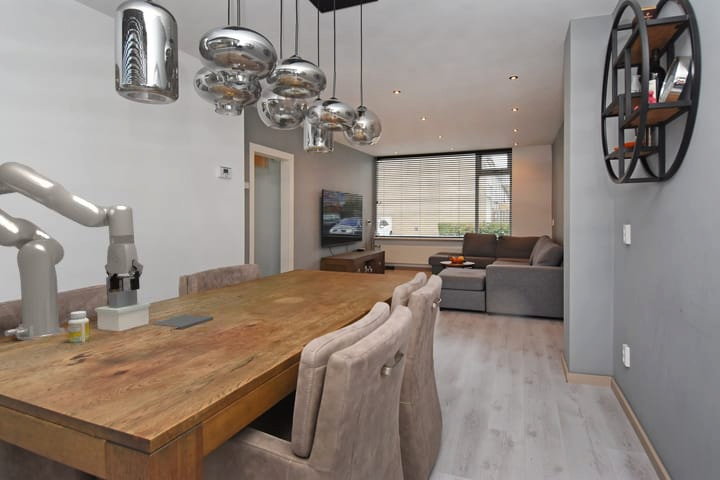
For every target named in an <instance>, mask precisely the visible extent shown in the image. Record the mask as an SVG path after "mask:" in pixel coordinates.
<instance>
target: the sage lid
mask: <svg viewBox="0 0 720 480" xmlns="http://www.w3.org/2000/svg"><path fill="white" fill-rule="evenodd" d="M108 297H109V306H107V305H105V306H99V307H95V308H94V312H96V313H97V312H108V313H122V312H127V311H131V310H136V309H140V308H144V307H148V308H149V307H151V303H150V302H149V303H148V302H140V301H139V302H138V290H124V291H118V292H113V293H108Z"/></svg>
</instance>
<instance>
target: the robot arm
mask: <svg viewBox="0 0 720 480" xmlns="http://www.w3.org/2000/svg"><path fill="white" fill-rule="evenodd" d="M14 193H18V194H20V195H22V196H23V197H26V198H28V199H30V200H32V201H35V202H36V203H39V204H40V205H43V206H44V207H46V208H48V209H49V210H51V211H53V212H55V213H57V214H59V215H61V216H63V217H65V218H67V219H69V220H71V221H73V222H75V223H77V224H79V225H81V226H84V227H87V228H104V227H108V237H109V244H108V247H107V255H106V264H105V265H104V269H105V271H106V272H105V273H106V274H107V277H108V278H110V289H111V290H113V289H119V288H120V286H119V277H117V276H120V275H122V274H123V275H125V274H128V276H130V277H131V278H132V279H130V288H131V290H137V291H138V290H140V289H141V288H140V287H141V286H140V278H141V275H143V274H142V273H143V269H144V265H142V264H141V263H140V262H139V257H138V252H137V247H136V244H135V231H134V216H133V215H134V213H133V208H132V206H130V205H111V206H102V205H97V204H93V203H90V202H88V201H86V200H85V199H83V198H81V197H79V196H77V195H75V194H74V193H71V192H70V191H68V190H67V189H66V188H65V187H64V186H63V185H62V184H60V183H59V182H57V181H55V180H53V179H51V178H49V177H47V176H45V175H43V174H41V173H39V172H37V171H36V170H35V169H33V167H30V166H29V165H25V164H23V163H19V162H15V161H7V162H3V163H2V164H0V196H2V195H7V194H14ZM0 246H2V247H7V248H11V247H15V248H16V249H17V250H18V251H17V254H16V255H17V256H16V261H17V262H16V263H17V267H18V272H19V280H20V296H21V318H22V319H21V320H22V321H21V322H22V323H20V324H18V326H17V327H16V328H11V329H7V330H5V331H4V335H5V337H11V336H16V339H17V340H19V341H33V339H37V338H45V337H46V338H47V337H50V336H55V335H58V334H63V333H64V332H65V331H66V329H65V328H64V327H60V320H59V318H60V317H59V295H58V293H59V292H58V291H59V289H58V278H57V277H58V275H57V271H56V265H58V264H59V263H61V261H62V260H63V259H64V257H65V250H64V247H63V245H62V244H61V243H59V242H58V241H57V240H56V239H55V238H54V237H52V236H51V235H50V234H49V233H48V232H46V231H44V230H43V229H42V228H41V227H39V226H38V225H37V224H35V223H33V222H32V221H30V220H28V219H25V218H21V217H13V216H11V215H10V214H8V213H7V212H5V211H4V210H3V209H1V208H0Z"/></svg>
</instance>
